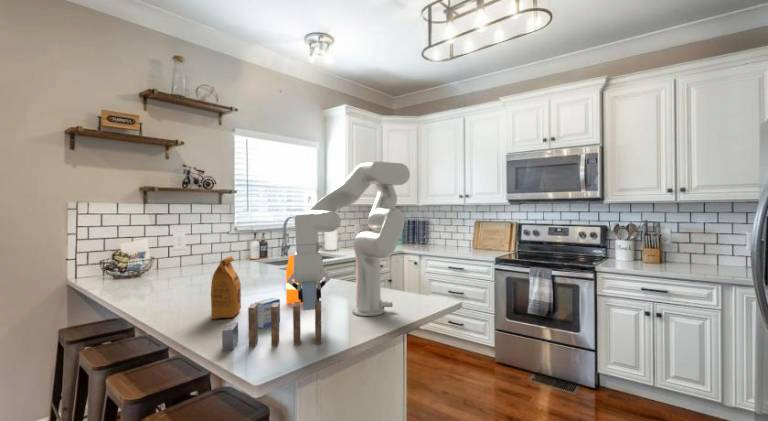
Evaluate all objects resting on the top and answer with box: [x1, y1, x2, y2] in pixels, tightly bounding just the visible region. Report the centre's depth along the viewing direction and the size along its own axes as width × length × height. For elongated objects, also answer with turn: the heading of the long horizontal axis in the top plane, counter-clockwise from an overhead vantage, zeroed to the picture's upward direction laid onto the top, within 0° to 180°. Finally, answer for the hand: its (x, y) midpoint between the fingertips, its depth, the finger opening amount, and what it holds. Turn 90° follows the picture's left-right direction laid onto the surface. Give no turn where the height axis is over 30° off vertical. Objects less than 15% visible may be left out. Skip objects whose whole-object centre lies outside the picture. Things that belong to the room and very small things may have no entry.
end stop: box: [221, 321, 239, 352], centre depth 116 cm, size 3×7×6 cm, turn 9°
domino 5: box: [314, 300, 322, 345], centre depth 120 cm, size 2×5×12 cm, turn 9°
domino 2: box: [270, 302, 280, 348], centre depth 118 cm, size 2×5×12 cm, turn 9°
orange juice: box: [285, 254, 303, 305], centre depth 168 cm, size 8×9×20 cm
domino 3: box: [292, 302, 302, 346], centre depth 119 cm, size 2×5×12 cm, turn 9°
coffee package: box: [210, 255, 242, 320], centre depth 148 cm, size 10×12×22 cm
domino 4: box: [302, 282, 317, 311], centre depth 133 cm, size 2×5×12 cm, turn 99°
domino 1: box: [247, 302, 259, 349], centre depth 117 cm, size 2×5×12 cm, turn 9°
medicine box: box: [254, 297, 281, 330], centre depth 136 cm, size 8×4×9 cm, turn 148°
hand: (310, 300), depth 133 cm, fingers closed on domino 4, 4 cm apart
